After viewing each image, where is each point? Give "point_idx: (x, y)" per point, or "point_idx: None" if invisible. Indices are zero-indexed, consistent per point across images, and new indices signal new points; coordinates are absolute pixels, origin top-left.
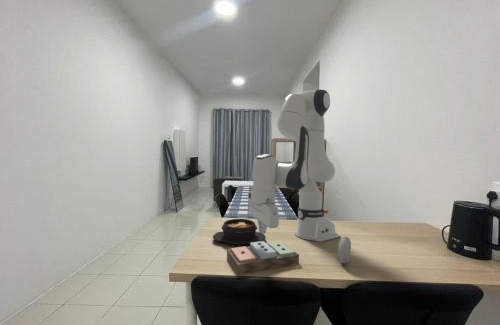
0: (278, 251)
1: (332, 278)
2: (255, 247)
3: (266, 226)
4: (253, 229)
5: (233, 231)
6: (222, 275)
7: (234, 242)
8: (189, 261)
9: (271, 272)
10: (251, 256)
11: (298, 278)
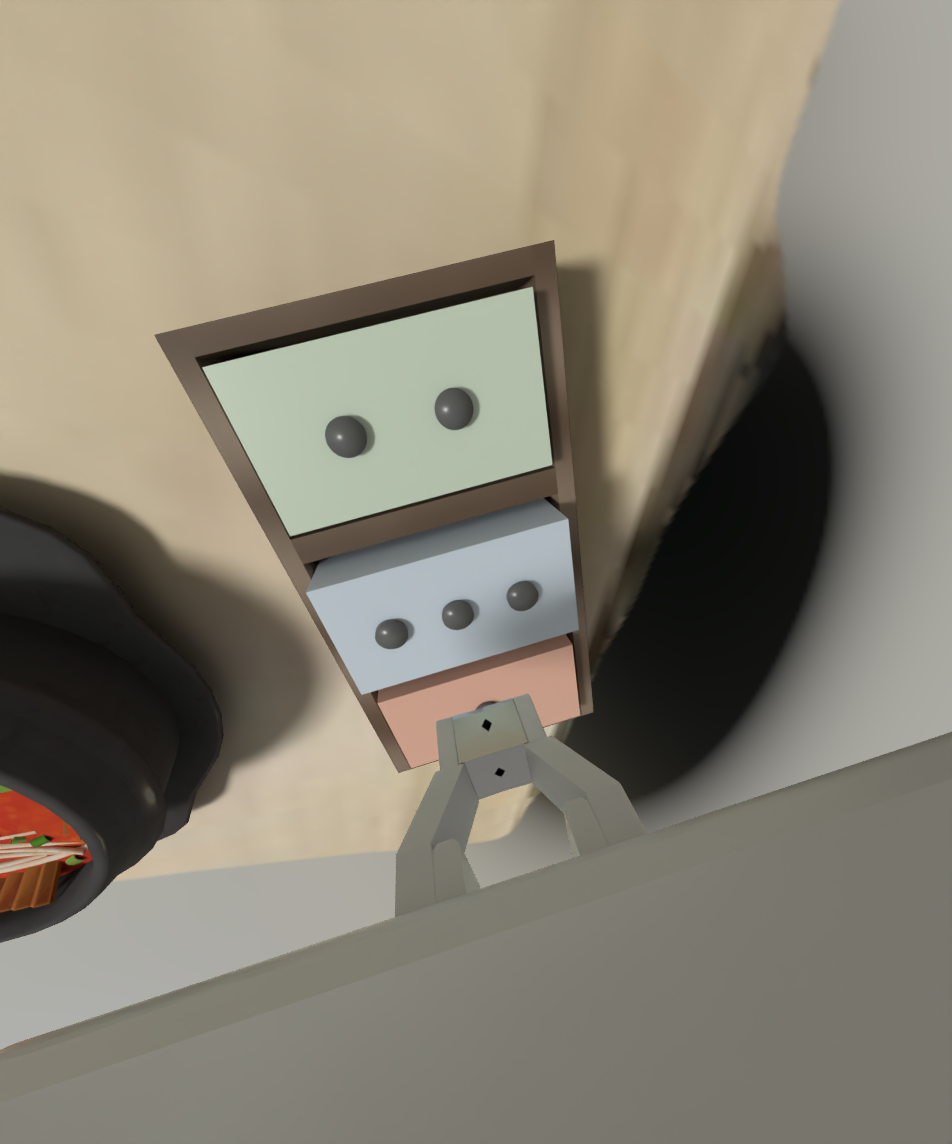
0: (499, 472)
1: (829, 19)
2: (462, 660)
3: (597, 775)
4: None
5: (144, 833)
6: None
7: (206, 740)
8: None
9: (593, 524)
10: (549, 666)
11: (706, 370)
